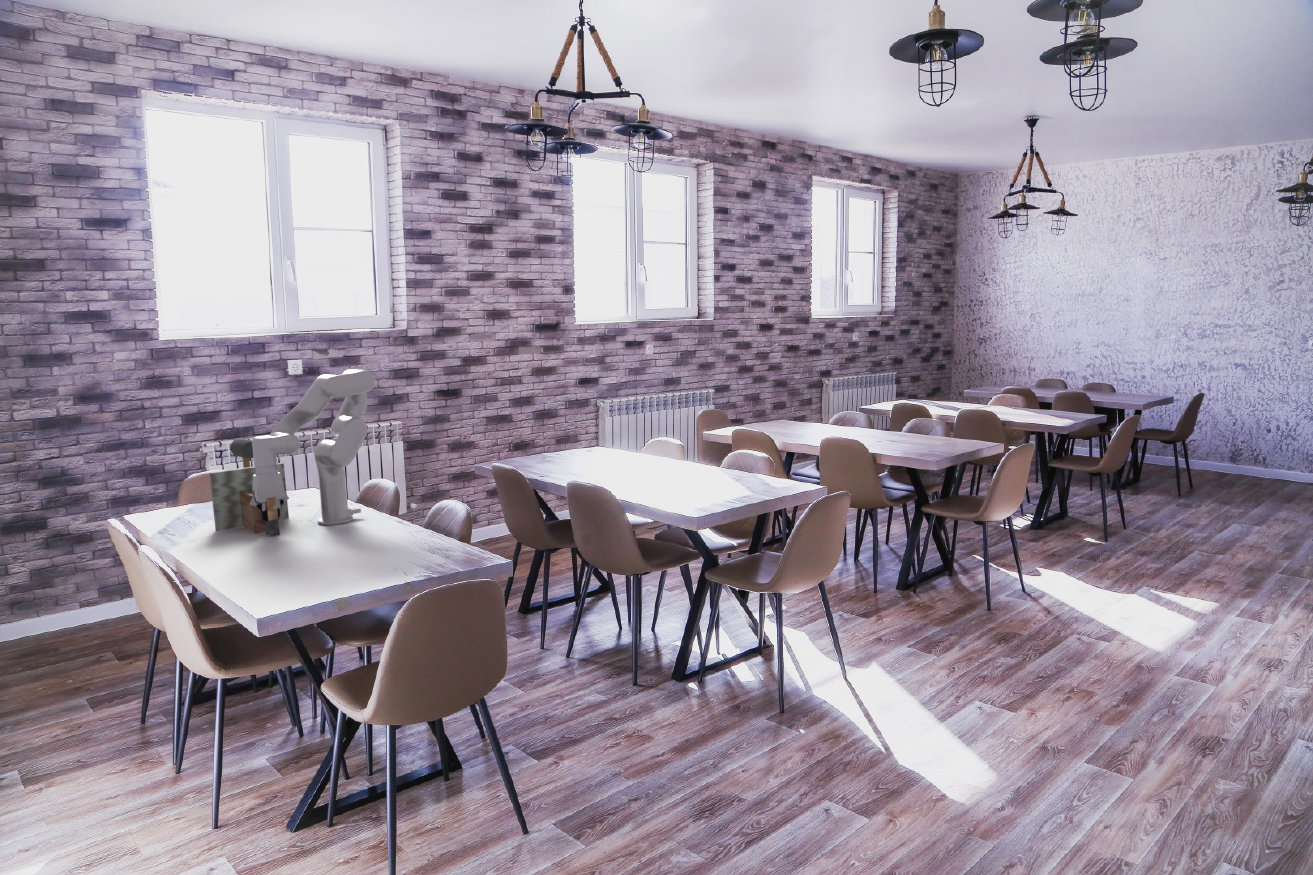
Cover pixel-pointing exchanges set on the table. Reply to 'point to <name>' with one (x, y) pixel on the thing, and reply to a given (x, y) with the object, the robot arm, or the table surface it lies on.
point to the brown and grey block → (272, 518)
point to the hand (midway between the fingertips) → (271, 519)
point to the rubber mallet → (242, 450)
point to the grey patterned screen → (239, 500)
